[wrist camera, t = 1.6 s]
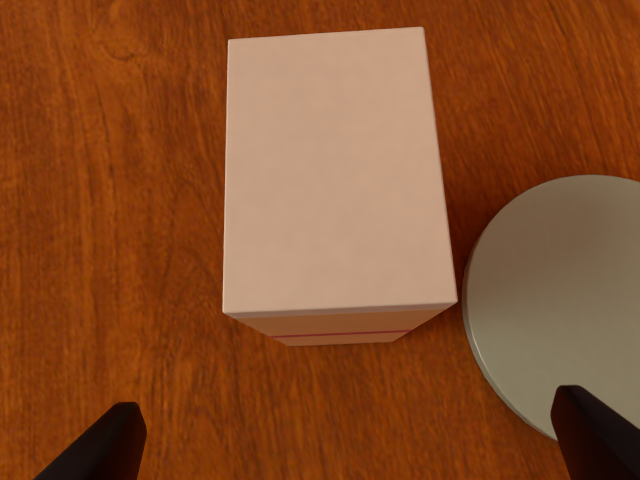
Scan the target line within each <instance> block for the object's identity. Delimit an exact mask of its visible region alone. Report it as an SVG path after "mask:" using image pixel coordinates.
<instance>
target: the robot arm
mask: <svg viewBox="0 0 640 480" xmlns="http://www.w3.org/2000/svg"><path fill="white" fill-rule="evenodd" d="M550 417H551V423H552V426H553V429H554V432H555V435H556V437H557V440H558V443H559V446H560V449H561V452H562V455H563V458H564V461H565V464H566V466H567V469H568V472H569V475H570V478H571V480H640V429H639V428H638V427H636V426H635V425H633V424H632V423H631V422H629V421H628V420H627V419H625V418H624V417H623V416H621V415H620V414H619V413H617V412H616V411H615V410H613V409H612V408H610V407H609V406H608V405H606V404H605V403H604V402H602V401H601V400H600V399H598V398H597V397H596V396H594V395H593V394H592V393H590V392H589V391H587V390H586V389H585V388H583V387H582V386H580V385H560V386H558V387H557V389H556V392H555V396H554V400H553V404H552V407H551V412H550ZM146 435H147V429H146V425H145V422H144V419H143V416H142V414H141V411H140V408H139V406H138V404H137V403H136V402H119V403H116V404H115V405H113V406H112V407H111V408H110V409H109V410H108V411H107V412H106V413H105V414H104V415H103V416H101V417H100V418H99V419H98V420H97V421H96V422H95V423H94V424H93V425H92V426H91V427H89V428H88V429H87V430H86V431H85V432H84V433H83V434H82V435H81V436H80V437H79V438H78V439H76V440H75V441H74V442H73V443H72V444H71V445H70V446H69V447H68V448H67V449H66V450H64V451H63V452H62V453H61V454H60V455H59V456H58V457H57V458H56V459H55V460H54V461H52V462H51V463H50V464H49V465H48V466H47V467H46V468H45V469H44V470H43V471H42V472H40V473H39V474H38V475H37V476H36V477H35V478H34V479H33V480H137V476H138V472H139V468H140V463H141V459H142V454H143V450H144V445H145V441H146Z"/></svg>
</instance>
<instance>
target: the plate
mask: <svg viewBox="0 0 640 480" xmlns="http://www.w3.org/2000/svg"><path fill="white" fill-rule="evenodd" d="M462 312H463V321H464V326H465V330H466V334H467V338H468V341H469V344H470V347H471V349H472V352H473V355H474V357H475V359H476V361H477V363H478V365H479V367H480V369H481V371H482V373H483V374H484V376H485V378H486V379H487V381H488V382H489V383H490V385H491V386H492V388H493V389H494V391H495V392H496V393H497V394H498V396H499V397H500V398H501V399H502V400H503V401H504V402H505V404H506V405H507V406H508V407H509V408H510V409H511V410H512V411H513V412H514V413H516V414H517V415H518V416H519V417H520V418H521V419H522V420H523V421H524V422H526V423H527V424H529V425H530V426H531V427H533V428H534V429H536V430H537V431H538V432H540V433H541V434H543V435H545V436H546V437H548V438H550V439H552V440H554V441H556V442H558V440H557V437H556V435H555V432H554V429H553V426H552V423H551V417H550V412H551V407H552V404H553V400H554V396H555V392H556V389H557V387H558V386H560V385H580V386H582V387H583V388H585V389H586V390H587V391H589V392H590V393H592V394H593V395H594V396H596V397H597V398H598V399H600V400H601V401H602V402H604V403H605V404H606V405H608V406H609V407H610V408H612V409H613V410H615V411H616V412H617V413H619V414H620V415H621V416H623V417H624V418H625V419H627V420H628V421H629V422H631V423H632V424H633V425H635V426H636V427H638V428H639V429H640V182H637V181H634V180H630V179H625V178H620V177H615V176H606V175H575V176H569V177H563V178H558V179H555V180H551V181H548V182H545V183H542V184H540V185H537V186H535V187H533V188H531V189H528V190H527V191H525V192H523V193H522V194H520V195H519V196H517V197H515V198H514V199H513V200H511V201H510V202H509V203H508V204H507V205H505V206H504V207H503V208H502V209H501V210H500V211H499V212H498V213H497V214H496V215H495V216H494V217H493V218H492V219H491V220H490V222H489V223H488V224H487V225H486V226H485V227H484V229H483V230H482V232H481V233H480V235H479V237H478V238H477V240H476V242H475V244H474V246H473V248H472V250H471V252H470V254H469V257H468V261H467V264H466V267H465V271H464V277H463V284H462Z"/></svg>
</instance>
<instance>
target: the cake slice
mask: <svg viewBox="0 0 640 480" xmlns="http://www.w3.org/2000/svg"><path fill="white" fill-rule="evenodd" d="M457 301H458V297H457V289H456V281H455V273H454V265H453V257H452V249H451V241H450V233H449V225H448V217H447V209H446V201H445V193H444V184H443V176H442V168H441V160H440V152H439V144H438V136H437V128H436V120H435V112H434V104H433V96H432V88H431V80H430V72H429V64H428V56H427V48H426V40H425V32H424V28H423V27H411V28H396V29H380V30H365V31H350V32H335V33H320V34H304V35H289V36H274V37H259V38H244V39H230V40H229V41H228V72H227V120H226V168H225V216H224V264H223V313H225V314H227V315H229V316H231V317H232V318H234V319H236V320H238V321H240V322H242V323H244V324H246V325H248V326H250V327H252V328H254V329H256V330H258V331H260V332H262V333H264V334H266V335H268V336H269V337H271V338H274V339H276V340H278V341H280V342H282V343H284V344H286V345H288V346H307V345H330V344H353V343H377V342H393V341H395V340H396V339H398V338H400V337H401V336H403V335H405V334H406V333H408V332H410V331H412V330H413V329H414V328H416V327H418V326H419V325H421V324H423V323H424V322H426V321H428V320H429V319H431V318H433V317H434V316H436V315H437V314H439V313H441V312H442V311H444V310H446V309H447V308H449V307H450V306H452V305H454V304H455V303H457Z"/></svg>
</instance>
